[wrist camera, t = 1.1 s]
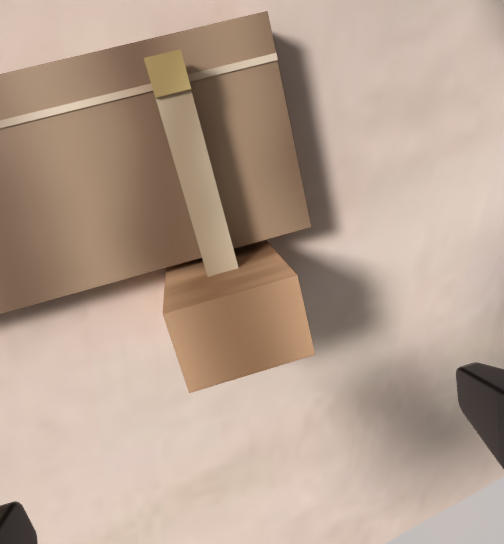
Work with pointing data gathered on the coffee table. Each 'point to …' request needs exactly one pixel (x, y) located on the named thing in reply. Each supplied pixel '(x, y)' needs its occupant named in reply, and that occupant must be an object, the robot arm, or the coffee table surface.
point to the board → (138, 161)
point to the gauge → (221, 264)
